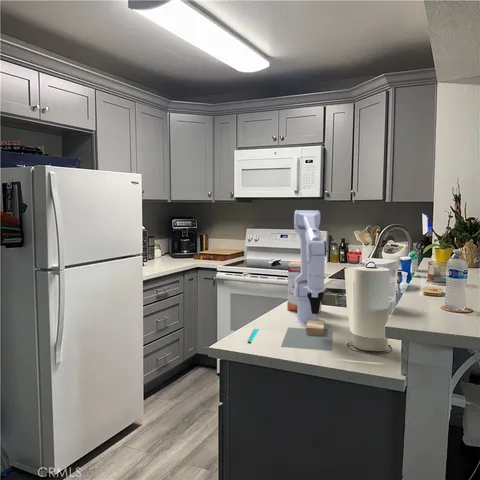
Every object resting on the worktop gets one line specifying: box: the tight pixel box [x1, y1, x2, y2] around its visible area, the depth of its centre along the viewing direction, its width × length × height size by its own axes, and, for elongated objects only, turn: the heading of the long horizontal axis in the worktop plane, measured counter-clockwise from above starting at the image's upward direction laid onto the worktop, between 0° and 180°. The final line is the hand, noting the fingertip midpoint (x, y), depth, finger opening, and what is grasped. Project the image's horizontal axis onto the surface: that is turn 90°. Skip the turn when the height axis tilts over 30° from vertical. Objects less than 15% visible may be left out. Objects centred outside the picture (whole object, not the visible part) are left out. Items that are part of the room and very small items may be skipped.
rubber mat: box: [280, 327, 333, 352], centre depth 142 cm, size 22×16×1 cm
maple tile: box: [305, 320, 325, 336], centre depth 150 cm, size 2×6×10 cm
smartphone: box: [247, 328, 260, 344], centre depth 144 cm, size 7×1×15 cm
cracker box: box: [286, 261, 323, 313], centre depth 181 cm, size 14×6×21 cm, turn 68°
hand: (315, 313), depth 145 cm, fingers closed
